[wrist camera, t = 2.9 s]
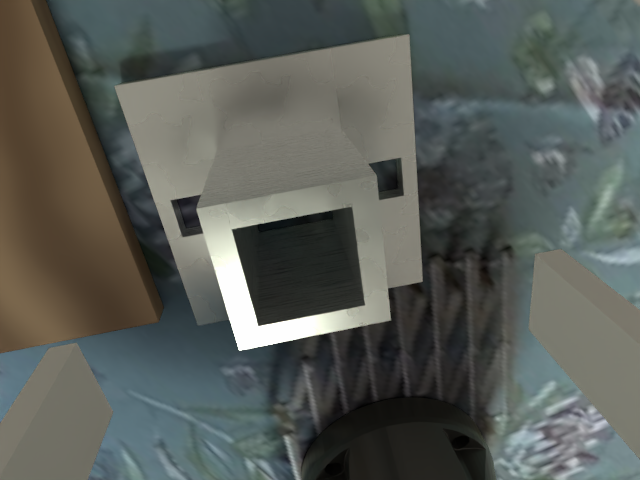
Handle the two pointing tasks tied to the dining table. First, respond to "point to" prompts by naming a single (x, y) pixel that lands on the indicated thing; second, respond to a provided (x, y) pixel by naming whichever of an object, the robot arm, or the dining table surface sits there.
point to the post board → (59, 201)
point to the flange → (285, 185)
